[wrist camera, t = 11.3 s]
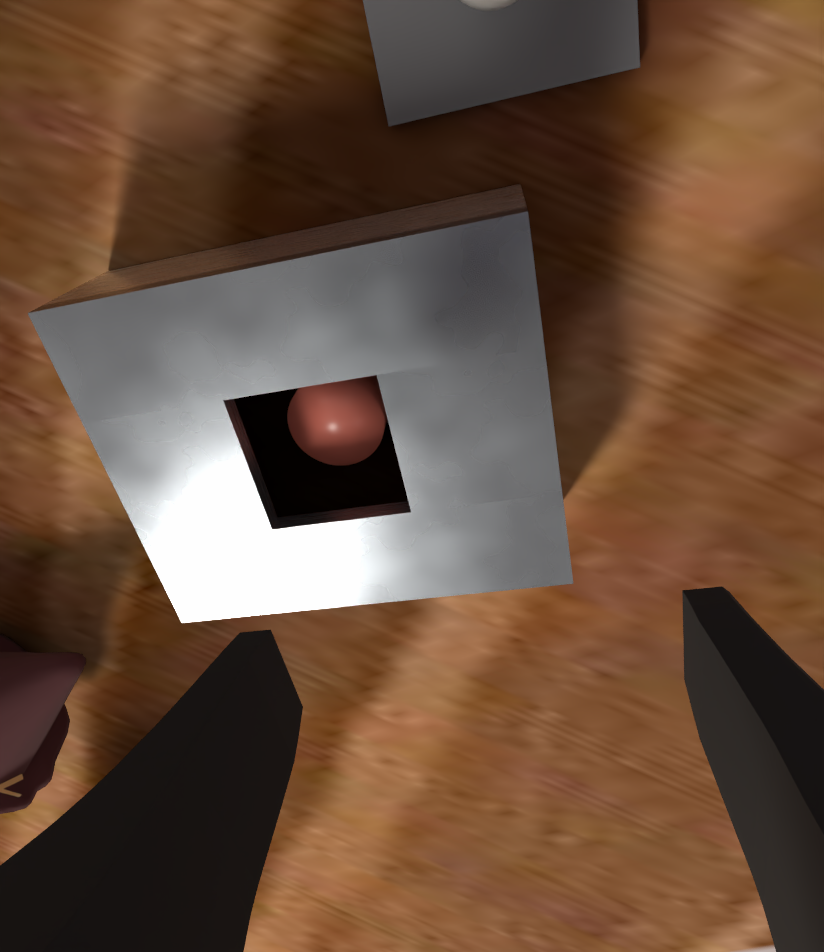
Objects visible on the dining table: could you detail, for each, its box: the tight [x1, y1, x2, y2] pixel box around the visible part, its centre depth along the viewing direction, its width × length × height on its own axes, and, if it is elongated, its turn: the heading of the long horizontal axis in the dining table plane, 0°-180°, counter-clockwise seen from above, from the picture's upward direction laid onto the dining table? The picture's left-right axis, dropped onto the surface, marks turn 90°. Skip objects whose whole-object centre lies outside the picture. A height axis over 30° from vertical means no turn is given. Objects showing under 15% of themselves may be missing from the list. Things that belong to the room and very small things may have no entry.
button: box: [287, 375, 388, 466], centre depth 20 cm, size 3×3×2 cm
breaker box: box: [28, 184, 573, 623], centre depth 19 cm, size 12×10×4 cm
